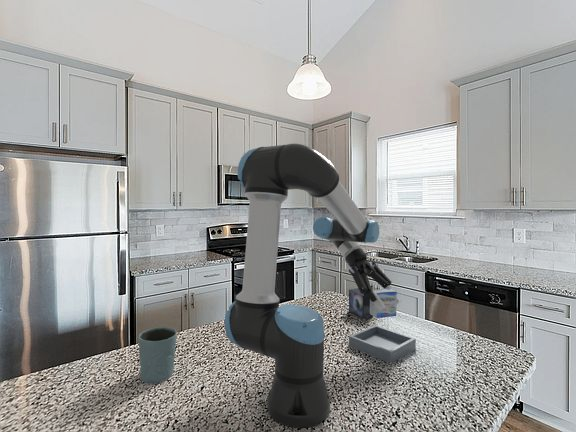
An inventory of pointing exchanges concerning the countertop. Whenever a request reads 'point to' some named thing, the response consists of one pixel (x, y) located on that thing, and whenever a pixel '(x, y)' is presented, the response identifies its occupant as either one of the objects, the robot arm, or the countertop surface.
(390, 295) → the medicine box
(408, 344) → the grey tray
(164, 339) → the teal cup
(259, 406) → the countertop surface
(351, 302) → the small box
